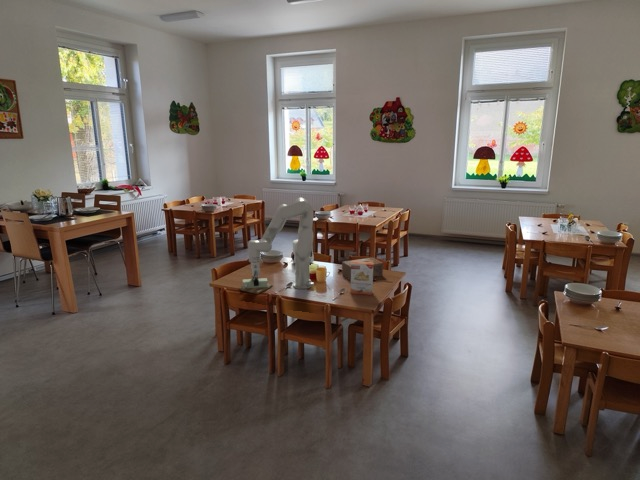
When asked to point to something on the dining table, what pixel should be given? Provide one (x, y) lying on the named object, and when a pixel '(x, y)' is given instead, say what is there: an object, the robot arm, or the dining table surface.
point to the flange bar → (251, 283)
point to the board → (256, 289)
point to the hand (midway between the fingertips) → (255, 283)
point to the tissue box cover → (376, 266)
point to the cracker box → (361, 277)
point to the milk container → (294, 253)
